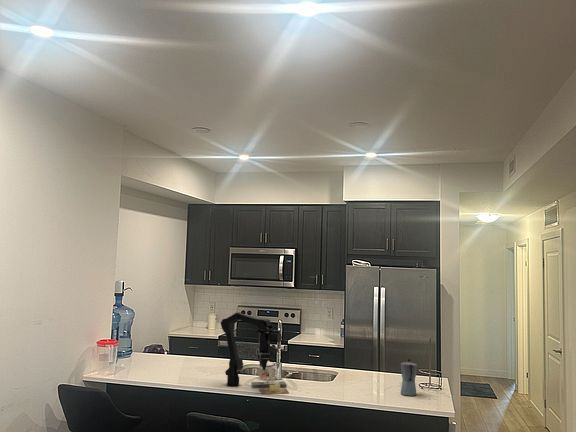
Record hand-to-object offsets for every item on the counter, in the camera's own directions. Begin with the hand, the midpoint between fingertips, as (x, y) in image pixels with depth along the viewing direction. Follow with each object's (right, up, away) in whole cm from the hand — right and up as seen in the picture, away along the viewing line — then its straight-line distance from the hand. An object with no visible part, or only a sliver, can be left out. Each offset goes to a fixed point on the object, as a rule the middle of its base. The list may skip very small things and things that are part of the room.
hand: (262, 368), depth 311 cm
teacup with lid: (+2, -15, +28) cm, 32 cm away
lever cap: (+6, -11, -5) cm, 14 cm away
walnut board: (+6, -12, -5) cm, 14 cm away
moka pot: (+84, -15, -2) cm, 86 cm away
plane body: (+3, -13, +7) cm, 15 cm away
